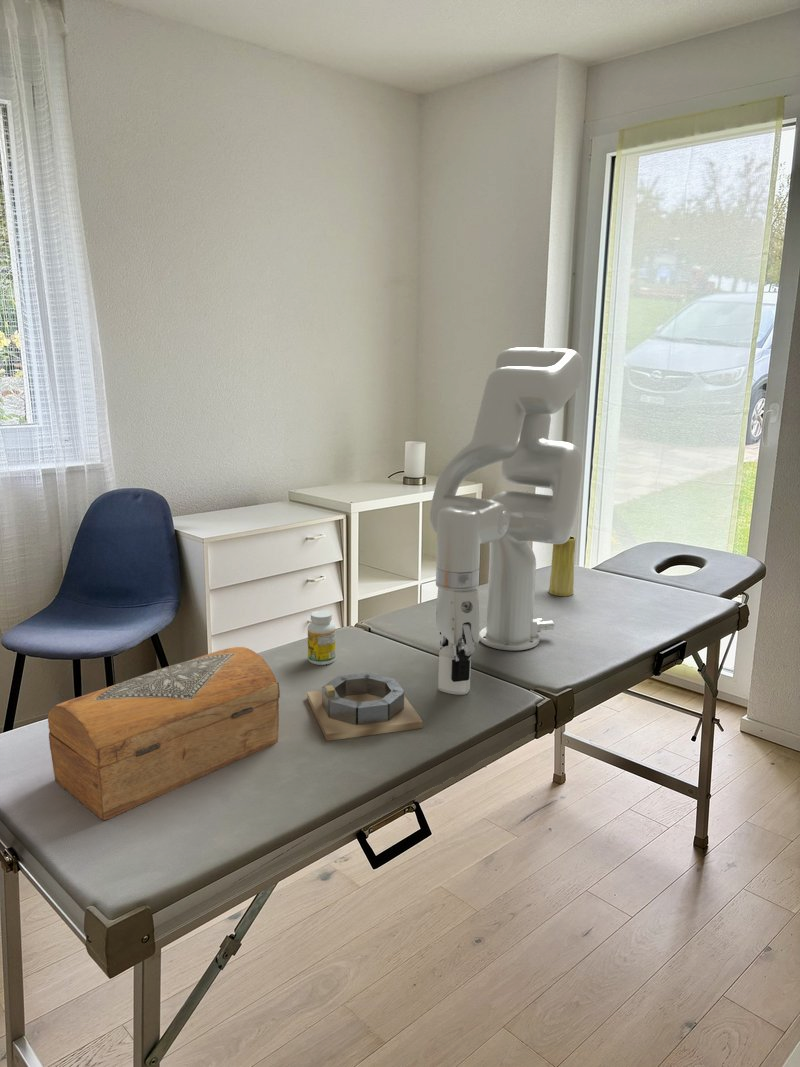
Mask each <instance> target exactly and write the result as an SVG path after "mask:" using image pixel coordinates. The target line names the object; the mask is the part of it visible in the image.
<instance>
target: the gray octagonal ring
mask: <svg viewBox="0 0 800 1067" xmlns="http://www.w3.org/2000/svg"><path fill="white" fill-rule="evenodd" d="M321 690H322V705H323V707H324V709H325V711H326V713H327V716H328V717H330V718H331V719H335V720H338V721H342V722H346V723H350V724H353V725H357V724H358V725H364V724H372V723H380V722H387V721H388V720H389V721H390V720H391V719H392V718H393V717H395V716H396V715H397V714H398V713H399V712H401V711H402V710H403V709H404V696H405V691H404V688H402V686H401V685H400V683H399V682H398V681H397V679H396V678H393V677H388V676H384V675H380V674H375V673H371V672H364V673H363V672H362V673H356V674H355V673H353V674H344V675H339V676H337V677H335V678H333V679H331V681H329V682H327V683H326V684H325V685H323V686H322V687H321ZM360 694H370V695H374V696H378V697H382V699H381V700H374V701H366V702H355V701H351V700H347V699H343V698H344V697H345V696H351V695H360Z"/></svg>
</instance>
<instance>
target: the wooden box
mask: <svg viewBox="0 0 800 1067" xmlns="http://www.w3.org/2000/svg"><path fill="white" fill-rule="evenodd" d="M280 697H281V693H280V683H279V681H278V680H277V679H276V676H275V674H274V672H273V671H272V669H271V667H270V665H269V664H268V663H267V661H266V660H265V659H264V658H263V657H262V656H261V655H259V653H257V652H255V651H254V650H252V649H250V648H248V647H245V646H235V647H229V648H224V649H220V650H217V651H213V652H211V653H207V654H204V655H201V656H198V657H195V658H192V659H190V660H187V661H186V660H185V661H183V662H179V663H175V664H171V665H169V666H165V667H162V668H159V669H155V670H153V671H150V672H148V673H144V674H141V675H139V676H136V677H135V676H134V677H133V678H130V679H127V680H124V681H121V682H119V683H116V684H113V685H111V686H108V687H105V688H102V689H99V690H95V691H92V692H89V693H86V694H84V695H81V696H78V697H75V698H72V699H69V700H65V701H63V702H60V703H57V704H55V705H54V706H53V707H51V708H50V710H49V712H48V714H47V722H48V730H49V733H48V741H49V749H50V750H49V751H50V754H51V762H52V763H51V764H52V769H53V774H54V781H55V782H56V783H57V784H58V785H59V786H60V787H61V788H62V789H64V790H65V791H66V792H68V794H70V795H71V796H72V797H74V798H75V799H76V800H77V801H78V802H79V803H81V804H82V805H83V806H84V807H86V809H87V810H89V811H91V812H92V813H94V815H96V816H97V817H98V818H99V819H101V820H103V821H106V820H109V819H111V818H114V817H116V816H119V815H121V814H123V813H125V812H127V811H130V810H131V809H134V808H136V807H138V806H140V805H143V804H145V803H147V802H150V801H152V800H154V799H157V798H159V797H160V796H162V795H163V796H164V795H165V794H167V793H169V792H172V791H173V790H176V789H178V788H181V787H182V786H185V785H187V784H189V783H191V782H194V781H196V780H198V779H200V778H202V777H205V776H207V775H209V774H212V773H214V772H216V771H218V770H219V769H222V768H225V767H227V766H229V765H230V764H231V765H232V764H233V763H235V762H237V761H238V762H239V761H240V760H242V759H244V758H247V757H249V756H251V755H253V754H255V753H258V752H259V751H262V750H264V749H266V748H269V747H271V746H273V745H274V744H277V743H278V742H279V730H280V729H279V726H280V724H279V721H280V718H279V717H280V714H279V712H280V711H279V708H280V704H279V703H280V702H279V700H280Z"/></svg>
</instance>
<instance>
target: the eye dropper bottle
mask: <svg viewBox="0 0 800 1067" xmlns="http://www.w3.org/2000/svg"><path fill="white" fill-rule="evenodd" d="M458 642H463V639H460V640H458ZM463 648H464V646H461V647H458V649H459V652H460V650H463ZM452 660H454V651H453V644H452V643H451V642H450V641H449V644H448V646H445V647H443V648H442V649H441V650H439V654H438V669H437V670H438V675H437V676H438V677H437V678H438V679H437V681H438V682H437V689H438V691H440V692H442V693H445V694H450V695H459V696H461V695H462V696H464V695H467V694H468V693H469V691H470V689H471V674H470V675H469V680H466V681H458V682H453V681H452V680H451V675H452ZM471 660H472V659H471ZM471 660H470V671H471V669H472V668H471V665H472V664H471V663H472V661H471Z"/></svg>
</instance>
